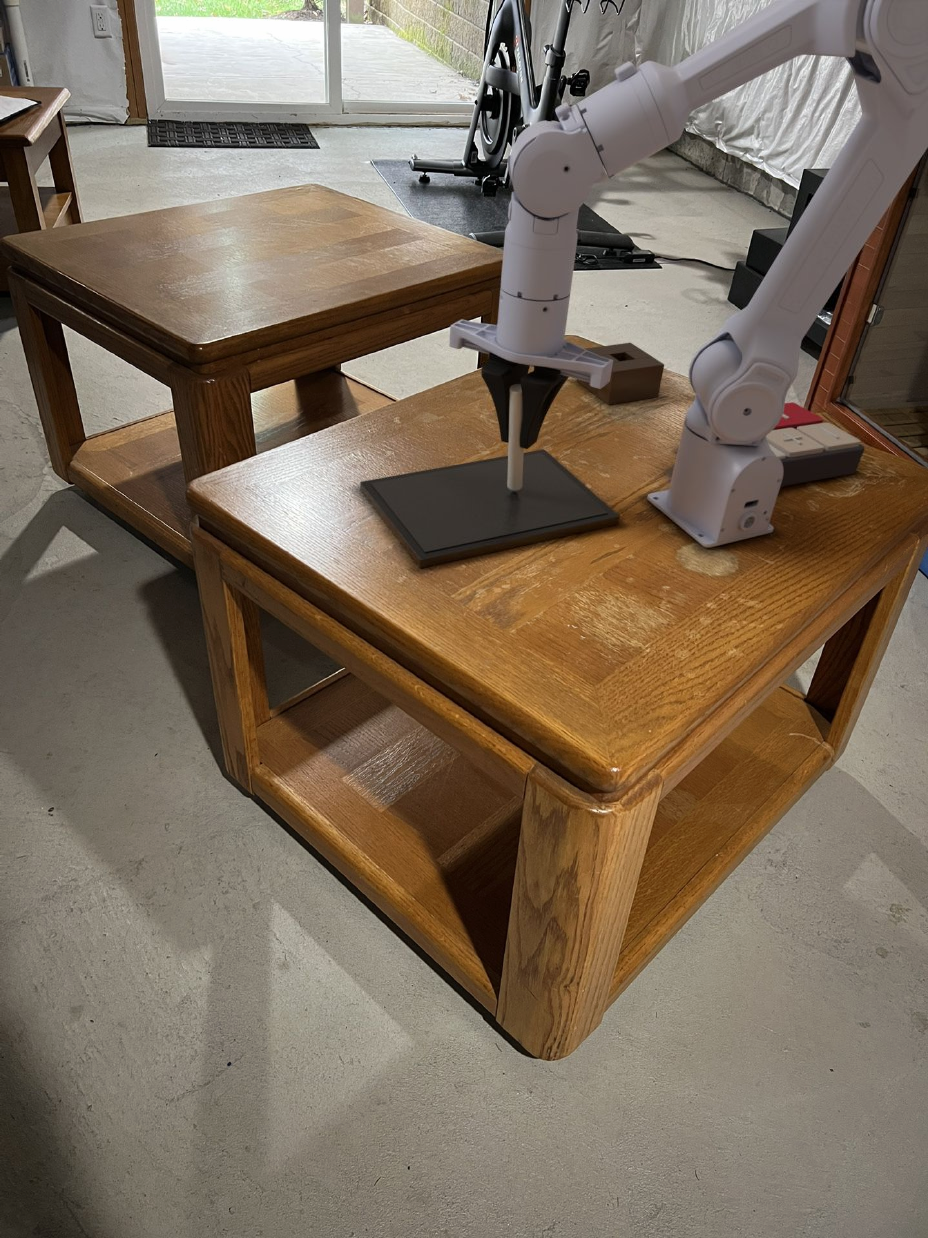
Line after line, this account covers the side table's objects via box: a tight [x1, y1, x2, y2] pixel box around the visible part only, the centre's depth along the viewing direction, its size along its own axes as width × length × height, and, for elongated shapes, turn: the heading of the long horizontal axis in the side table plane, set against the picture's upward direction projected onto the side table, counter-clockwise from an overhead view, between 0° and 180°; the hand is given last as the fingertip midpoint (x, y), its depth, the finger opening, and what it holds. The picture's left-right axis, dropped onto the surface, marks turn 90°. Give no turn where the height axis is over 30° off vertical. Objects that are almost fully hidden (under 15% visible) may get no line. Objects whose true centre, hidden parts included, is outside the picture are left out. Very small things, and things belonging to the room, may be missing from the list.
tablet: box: [359, 448, 621, 569], centre depth 87 cm, size 14×20×1 cm
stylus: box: [507, 384, 525, 493], centre depth 84 cm, size 1×1×11 cm
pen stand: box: [576, 342, 665, 406], centre depth 109 cm, size 7×7×4 cm
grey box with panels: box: [766, 402, 866, 489], centre depth 97 cm, size 11×4×15 cm
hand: (519, 441), depth 84 cm, fingers closed on stylus, 1 cm apart
